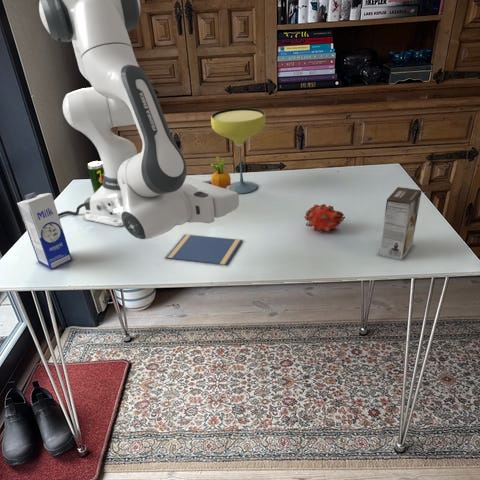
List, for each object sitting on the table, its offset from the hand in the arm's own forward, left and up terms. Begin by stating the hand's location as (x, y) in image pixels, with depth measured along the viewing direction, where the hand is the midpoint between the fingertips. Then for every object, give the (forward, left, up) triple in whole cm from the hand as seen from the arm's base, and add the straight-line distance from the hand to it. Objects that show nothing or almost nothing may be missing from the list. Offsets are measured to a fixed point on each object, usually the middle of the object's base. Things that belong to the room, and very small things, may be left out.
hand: (224, 184), depth 122 cm
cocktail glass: (-10, +46, -20) cm, 51 cm away
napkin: (-7, 0, -20) cm, 21 cm away
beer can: (-58, +30, -20) cm, 69 cm away
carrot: (0, -1, -8) cm, 8 cm away
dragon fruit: (+24, +19, -20) cm, 36 cm away
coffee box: (+45, +10, -20) cm, 50 cm away
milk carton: (-47, -15, -20) cm, 54 cm away
